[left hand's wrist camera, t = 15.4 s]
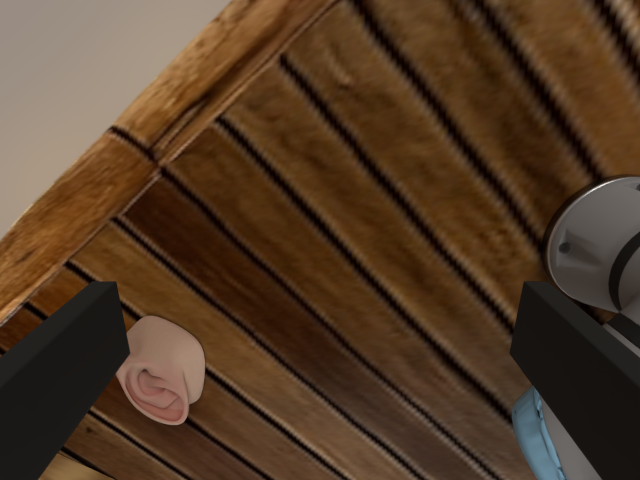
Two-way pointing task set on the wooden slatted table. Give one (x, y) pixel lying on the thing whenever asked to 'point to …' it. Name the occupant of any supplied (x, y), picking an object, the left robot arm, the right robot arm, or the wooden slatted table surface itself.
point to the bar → (70, 471)
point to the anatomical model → (162, 370)
